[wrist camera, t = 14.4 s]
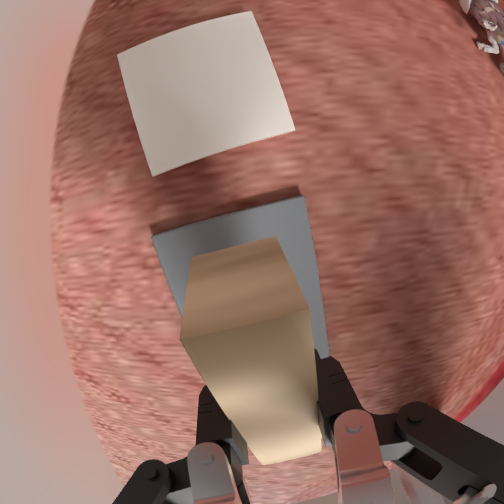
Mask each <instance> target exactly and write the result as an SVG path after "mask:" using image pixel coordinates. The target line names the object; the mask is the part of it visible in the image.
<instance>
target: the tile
mask: <svg viewBox="0 0 504 504" xmlns="http://www.w3.org/2000/svg"><path fill="white" fill-rule="evenodd" d="M117 57H118V61H119V65H120V69H121V73H122V77H123V81H124V85H125V89H126V93H127V96H128V100H129V103H130V107H131V111H132V114H133V117H134V121H135V124H136V128H137V131H138V134H139V137H140V141H141V144H142V147H143V150H144V153H145V156H146V159H147V162H148V165H149V168H150V171H151V174H152V177H153V176H157V175H160V174H162V173H165V172H167V171H170V170H172V169H175V168H178V167H180V166H183V165H186V164H188V163H191V162H194V161H197V160H200V159H203V158H205V157H208V156H211V155H214V154H217V153H220V152H223V151H227V150H230V149H233V148H236V147H239V146H243V145H246V144H249V143H253V142H256V141H260V140H263V139H267V138H271V137H274V136H278V135H282V134H286V133H290V132H293V131H295V127H294V124H293V121H292V118H291V115H290V112H289V109H288V106H287V103H286V100H285V97H284V94H283V91H282V88H281V85H280V82H279V79H278V77H277V74H276V71H275V68H274V66H273V63H272V60H271V58H270V55H269V52H268V50H267V47H266V45H265V42H264V40H263V37H262V35H261V32H260V30H259V27H258V25H257V23H256V20H255V18H254V16H253V13H252V11H247V12H242V13H237V14H232V15H228V16H223V17H219V18H215V19H211V20H208V21H204V22H200V23H197V24H194V25H190V26H187V27H184V28H181V29H178V30H175V31H172V32H169V33H167V34H164V35H161V36H159V37H156V38H153V39H151V40H148V41H146V42H144V43H141V44H139V45H137V46H134V47H132V48H130V49H128V50H126V51H124V52H121V53H119V54H117Z"/></svg>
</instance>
